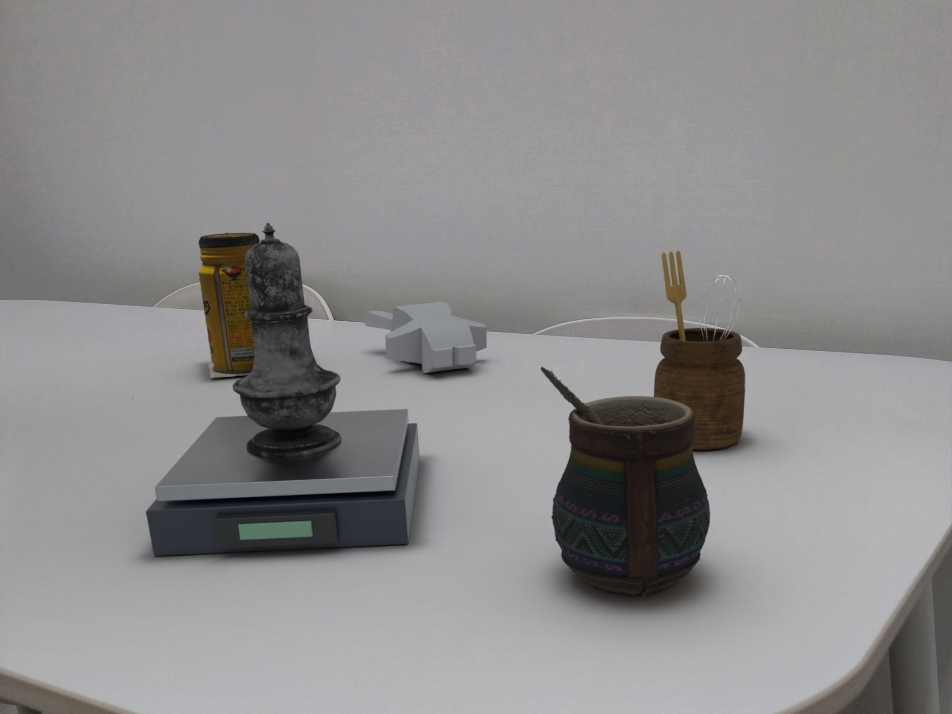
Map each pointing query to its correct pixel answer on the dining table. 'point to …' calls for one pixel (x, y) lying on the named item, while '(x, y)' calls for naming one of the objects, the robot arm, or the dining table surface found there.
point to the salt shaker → (283, 359)
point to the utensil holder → (702, 369)
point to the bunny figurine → (430, 336)
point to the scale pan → (290, 460)
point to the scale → (289, 518)
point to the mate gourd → (630, 493)
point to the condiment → (227, 302)
